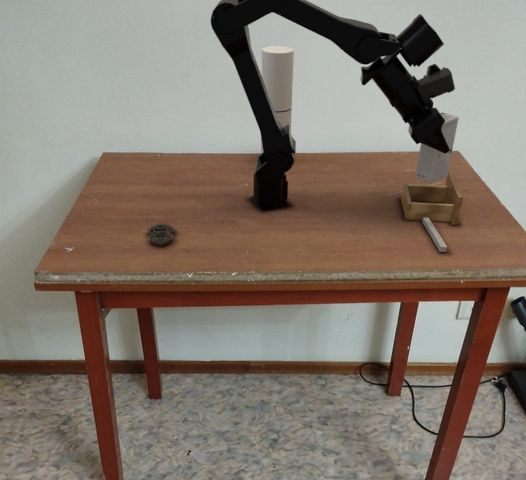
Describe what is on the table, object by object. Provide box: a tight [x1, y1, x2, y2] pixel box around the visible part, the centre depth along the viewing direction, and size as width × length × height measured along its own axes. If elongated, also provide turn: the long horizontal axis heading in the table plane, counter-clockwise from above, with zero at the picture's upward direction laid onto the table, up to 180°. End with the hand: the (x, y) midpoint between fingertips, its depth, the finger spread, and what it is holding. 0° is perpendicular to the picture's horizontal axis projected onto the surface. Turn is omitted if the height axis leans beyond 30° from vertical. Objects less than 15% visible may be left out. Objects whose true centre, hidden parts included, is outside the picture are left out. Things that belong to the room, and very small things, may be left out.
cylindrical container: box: [260, 45, 295, 155], centre depth 139 cm, size 7×7×25 cm
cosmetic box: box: [414, 112, 460, 184], centre depth 118 cm, size 6×4×12 cm
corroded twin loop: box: [147, 223, 175, 246], centre depth 114 cm, size 5×8×1 cm, turn 8°
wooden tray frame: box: [400, 171, 464, 226], centre depth 123 cm, size 10×13×6 cm
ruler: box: [421, 217, 448, 253], centre depth 115 cm, size 12×1×1 cm, turn 4°
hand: (444, 145), depth 118 cm, fingers closed on cosmetic box, 7 cm apart
